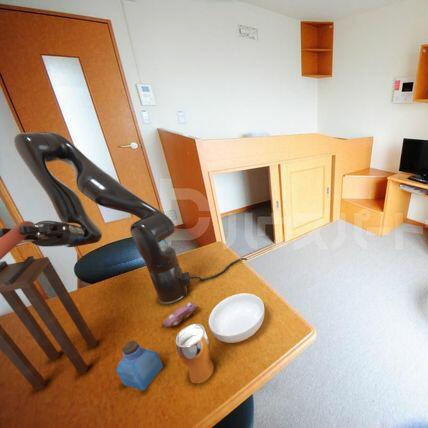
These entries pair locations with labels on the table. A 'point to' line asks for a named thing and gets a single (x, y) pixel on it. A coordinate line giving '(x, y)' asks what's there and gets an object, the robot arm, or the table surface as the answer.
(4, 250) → the sausage
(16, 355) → the shelf stand
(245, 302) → the cereal bowl
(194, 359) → the silver metal tumbler
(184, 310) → the video game controller
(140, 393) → the table surface
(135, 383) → the perfume bottle
